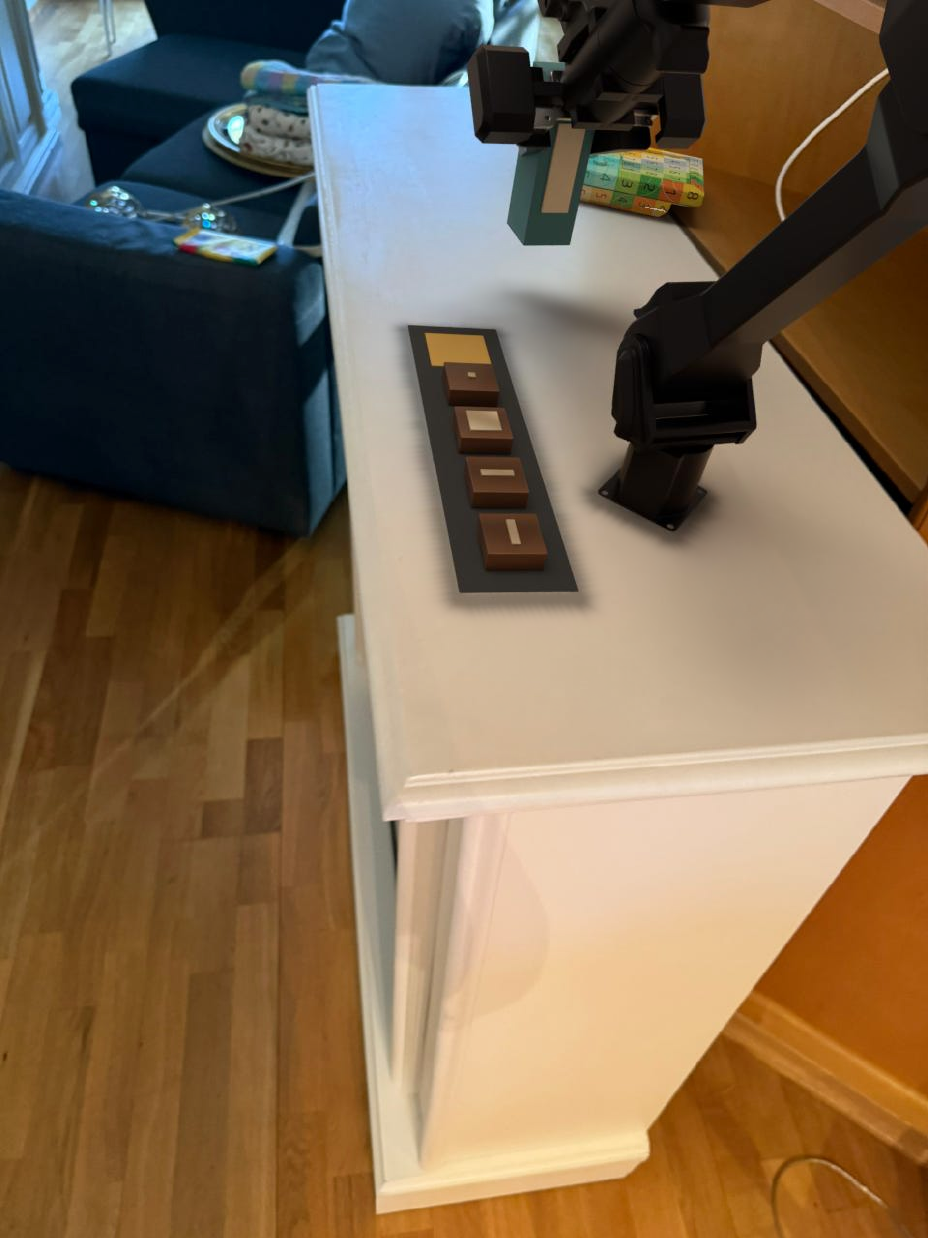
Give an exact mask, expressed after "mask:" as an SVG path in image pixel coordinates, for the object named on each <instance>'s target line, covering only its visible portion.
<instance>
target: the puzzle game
mask: <svg viewBox="0 0 928 1238" xmlns="http://www.w3.org/2000/svg"><path fill="white" fill-rule="evenodd" d="M704 177H705V176H704V160H703V158H700V157H696V156H691V155H686V154H683V153H678V152H675V151H674V152H673V151H669V150H665V149H661V148H655V147H651V146H650V147H649V148H648V149H647V150H644V151H629V152H620V153H610V154H601V155H592V156H589V161H588V165H587V170H586V174H585V179H584V183H583V188H582V193H581V197H580V202H584V203H589V204H593V205H598V206H603V207H608V208H613V209H616V210H622V211H626V212H630V213H631V212H632V213H637V214H641V215H646V216H651V217H656V218H660V217H662V216H663V215H665V214H666V213H668V211H669V210H670V208H671V206H672V205H676V206H680V207H681V206H682V207H688V208H691V209H692V208H694V209H695V208H699V207H702V206H703V204H704V199H705V197H706V195H705V178H704ZM645 207H649V208H645ZM650 208H657V209H663V210H665V211H666V212H664V211H659V210H654V209H650Z"/></svg>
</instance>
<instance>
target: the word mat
mask: <svg viewBox="0 0 928 1238" xmlns="http://www.w3.org/2000/svg"><path fill="white" fill-rule="evenodd" d="M407 331H408V335H409V340H410V341H409V342H410V345H411V350H412V355H413V361H414V367H415V371H416V376H417V377H416V378H417V382H418V386H419V392H420V397H421V403H422V406H423V407H422V408H423V412H424V413H423V414H424V417H425V423H426V428H427V432H428V437H429V444H430V448H431V453H432V454H431V455H432V459H433V464H434V468H435V473H436V479H437V485H438V489H439V494H440V499H441V505H442V511H443V515H444V520H445V521H444V522H445V525H446V531H447V536H448V540H449V545H450V550H451V556H452V561H453V566H454V571H455V577H456V581H457V586H458V592H459V593H460V594H472V593H473V594H476V593H478V594H479V593H480V594H481V593H485V594H487V593H490V594H491V593H578V592H579V588H578V585H577V581H576V579H575V575H574V572H573V569H572V565H571V562H570V560H569V557H568V553H567V550H566V546H565V543H564V541H563V537H562V535H561V531H560V528H559V525H558V522H557V519H556V515H555V512H554V509H553V506H552V503H551V499H550V496H549V493H548V490H547V488H546V487H547V486H546V485H545V484H546V483H545V481H544V478H543V475H542V472H541V468H540V465H539V462H538V458H537V455H536V453H535V450H534V447H533V443H532V440H531V436H530V434H529V430H528V428H527V424H526V421H525V418H524V415H523V412H522V409H521V405H520V402H519V399H518V396H517V392H516V390H515V387H514V383H513V380H512V377H511V374H510V371H509V367H508V364H507V362H506V359H505V355H504V352H503V348H502V346H501V342H500V339H499V336H498V333H497V329H495V328H477V327H474V328H473V327H458V326H457V327H456V326H437V325H436V326H435V325H419V324H418V325H416V324H407ZM444 362H460V363H484V364H492V367H493V371H494V374H495V377H496V381H497V384H498V387H499V391H500V392H499V398H498V403H497V407H487V408H504V409H505V412H506V415H507V419H508V422H509V425H510V429H511V432H512V435H513V444H512V448H511V453H510V454H469V453H459V451H458V447H457V442H456V438H455V433H454V429H453V425H452V418H453V411H454V407H455V406H453V405H448V403H447V398H446V394H445V390H444V385H443V381H442V372H443V364H444ZM456 407H484V406H456ZM466 457H509V458H519V459H520V463H521V466H522V469H523V473H524V476H525V480H526V483H527V486H528V490H529V496H528V500H527V504H526V508H472V507H471V504H470V500H469V496H468V491H467V487H466V482H465V478H464V474H463V471H464V465H465V459H466ZM480 513H486V514H536V516H537V519H538V523H539V526H540V529H541V533H542V536H543V540H544V543H545V546H546V550H547V553H548V555H547V558H546V562H545V565H544V569H543V570H485V567H484V562H483V558H482V554H481V549H480V545H479V540H478V536H477V531H476V527H477V522H478V517H479V514H480Z"/></svg>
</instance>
